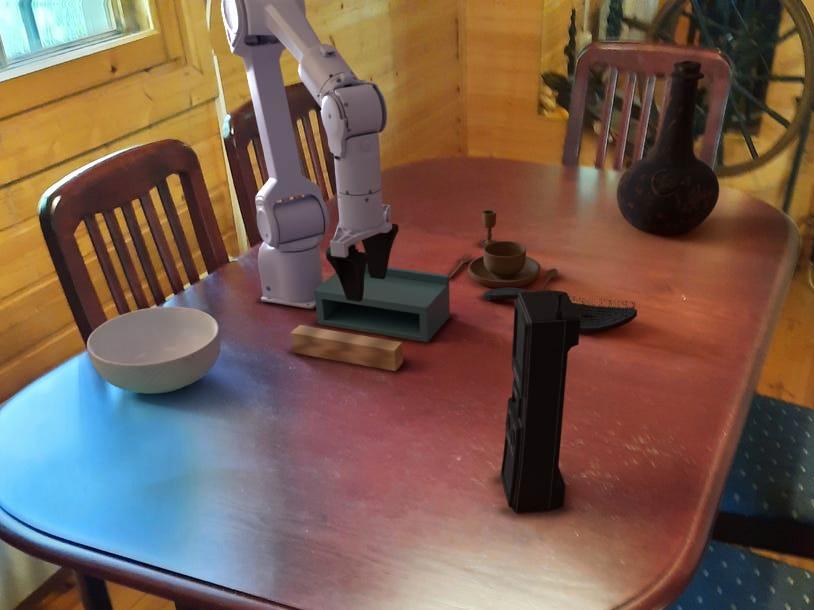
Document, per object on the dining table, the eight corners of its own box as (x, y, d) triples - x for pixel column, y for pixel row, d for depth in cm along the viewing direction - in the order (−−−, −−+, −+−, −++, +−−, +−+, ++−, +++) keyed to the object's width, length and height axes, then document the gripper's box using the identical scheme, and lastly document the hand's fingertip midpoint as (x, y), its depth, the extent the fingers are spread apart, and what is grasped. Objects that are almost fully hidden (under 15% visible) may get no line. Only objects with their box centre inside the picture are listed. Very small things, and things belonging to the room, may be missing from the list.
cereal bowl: (112, 425, 108) (98, 376, 104) (89, 368, 120) (76, 322, 116) (242, 390, 114) (234, 343, 110) (208, 340, 126) (199, 296, 122)
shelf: (317, 324, 130) (313, 282, 126) (344, 300, 136) (340, 260, 132) (427, 342, 124) (426, 299, 120) (449, 316, 131) (449, 275, 127)
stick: (293, 352, 122) (290, 332, 120) (302, 344, 124) (299, 324, 122) (395, 371, 117) (394, 350, 115) (403, 362, 119) (402, 342, 117)
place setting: (440, 283, 141) (440, 248, 137) (481, 240, 155) (481, 208, 152) (543, 298, 135) (545, 262, 132) (575, 252, 150) (578, 219, 146)
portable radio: (498, 472, 98) (504, 264, 83) (549, 468, 98) (565, 261, 83) (508, 515, 92) (517, 299, 77) (564, 511, 92) (583, 295, 77)
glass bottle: (603, 238, 155) (620, 70, 138) (625, 206, 168) (643, 49, 151) (704, 250, 149) (735, 77, 133) (718, 216, 162) (747, 54, 146)
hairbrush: (497, 270, 137) (646, 296, 125) (497, 292, 139) (644, 319, 127) (470, 289, 132) (624, 318, 120) (471, 312, 134) (622, 342, 122)
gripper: (363, 210, 102) (371, 314, 110) (410, 174, 113) (413, 271, 121) (311, 204, 104) (322, 307, 112) (361, 169, 115) (368, 265, 123)
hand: (366, 288), depth 117 cm, fingers open, 7 cm apart
